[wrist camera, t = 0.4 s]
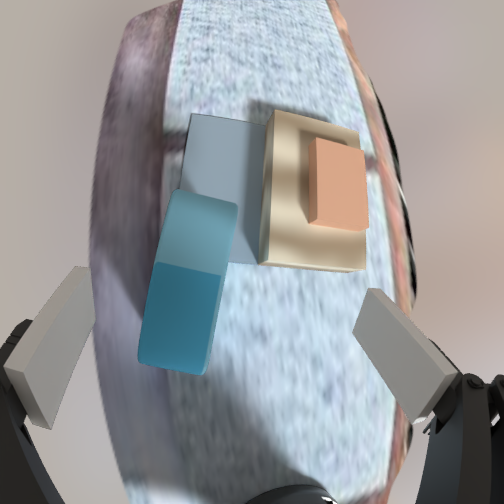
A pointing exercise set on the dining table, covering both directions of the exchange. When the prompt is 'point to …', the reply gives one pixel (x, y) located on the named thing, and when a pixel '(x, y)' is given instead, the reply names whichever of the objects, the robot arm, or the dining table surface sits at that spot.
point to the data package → (187, 283)
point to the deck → (301, 201)
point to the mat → (228, 174)
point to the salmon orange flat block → (337, 186)
